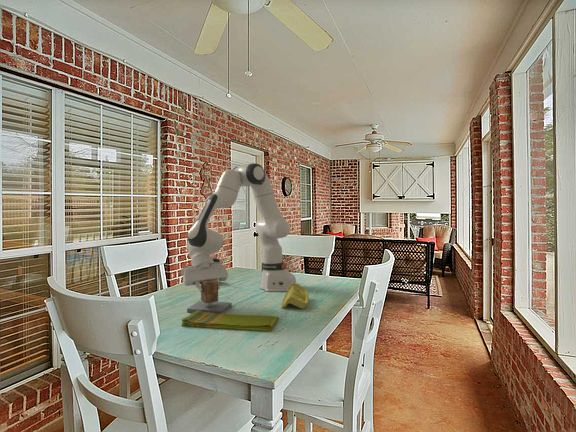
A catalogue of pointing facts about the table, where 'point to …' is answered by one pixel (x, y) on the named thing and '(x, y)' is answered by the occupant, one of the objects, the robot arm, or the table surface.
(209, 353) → the table surface
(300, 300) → the plastic component
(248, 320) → the dish towel
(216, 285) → the housing
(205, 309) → the mounting plate
